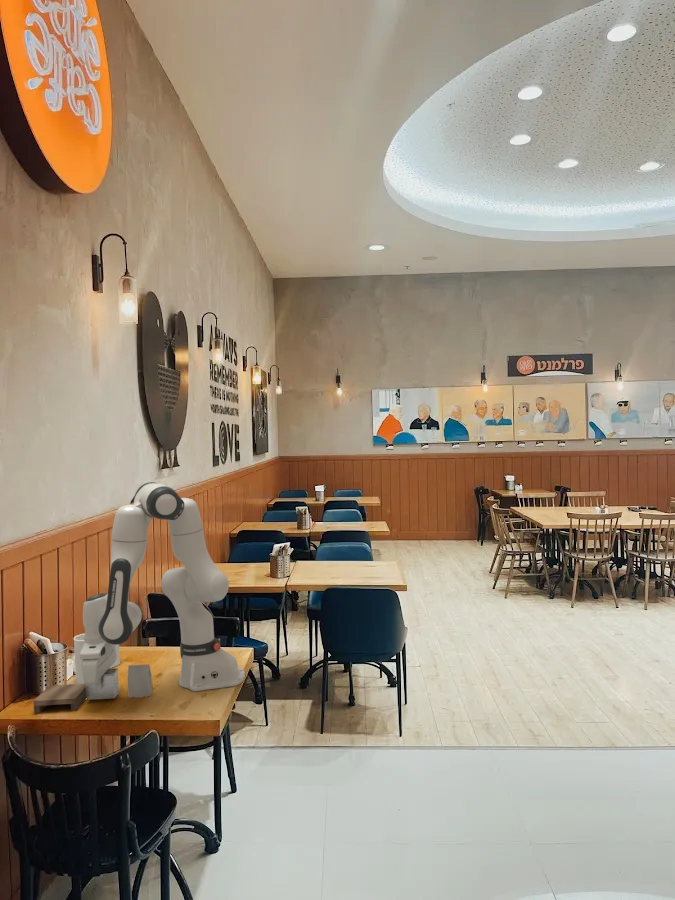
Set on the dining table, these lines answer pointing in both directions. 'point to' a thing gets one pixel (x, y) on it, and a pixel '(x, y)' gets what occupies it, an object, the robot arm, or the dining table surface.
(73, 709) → the walnut shelf
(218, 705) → the dining table surface
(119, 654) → the jar
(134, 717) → the dining table surface
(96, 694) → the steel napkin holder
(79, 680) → the cup
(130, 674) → the grey tapered block
